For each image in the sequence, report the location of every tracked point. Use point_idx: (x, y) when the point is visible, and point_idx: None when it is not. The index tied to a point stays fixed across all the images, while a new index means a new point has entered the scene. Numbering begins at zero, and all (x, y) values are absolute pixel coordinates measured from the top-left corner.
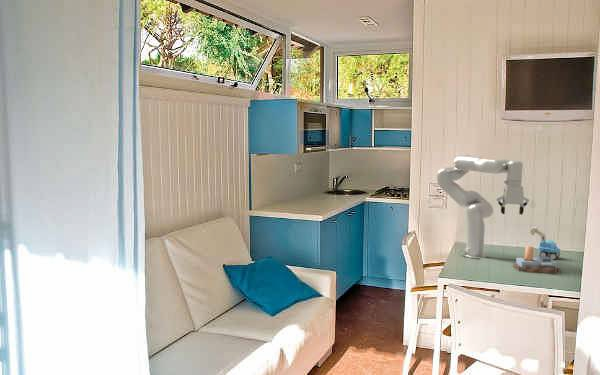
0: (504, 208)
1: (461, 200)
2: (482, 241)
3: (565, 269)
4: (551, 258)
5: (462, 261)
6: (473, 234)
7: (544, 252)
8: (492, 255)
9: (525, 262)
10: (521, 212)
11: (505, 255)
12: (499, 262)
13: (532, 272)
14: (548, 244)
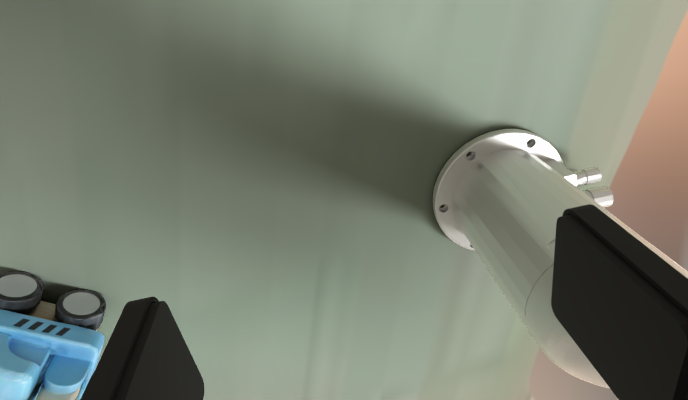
0: (678, 294)
1: None
2: (510, 216)
3: None
4: (31, 278)
5: (612, 26)
6: (620, 224)
7: (66, 313)
8: (382, 249)
9: None
10: (140, 334)
11: (307, 275)
12: (367, 84)
13: None
14: (14, 359)
